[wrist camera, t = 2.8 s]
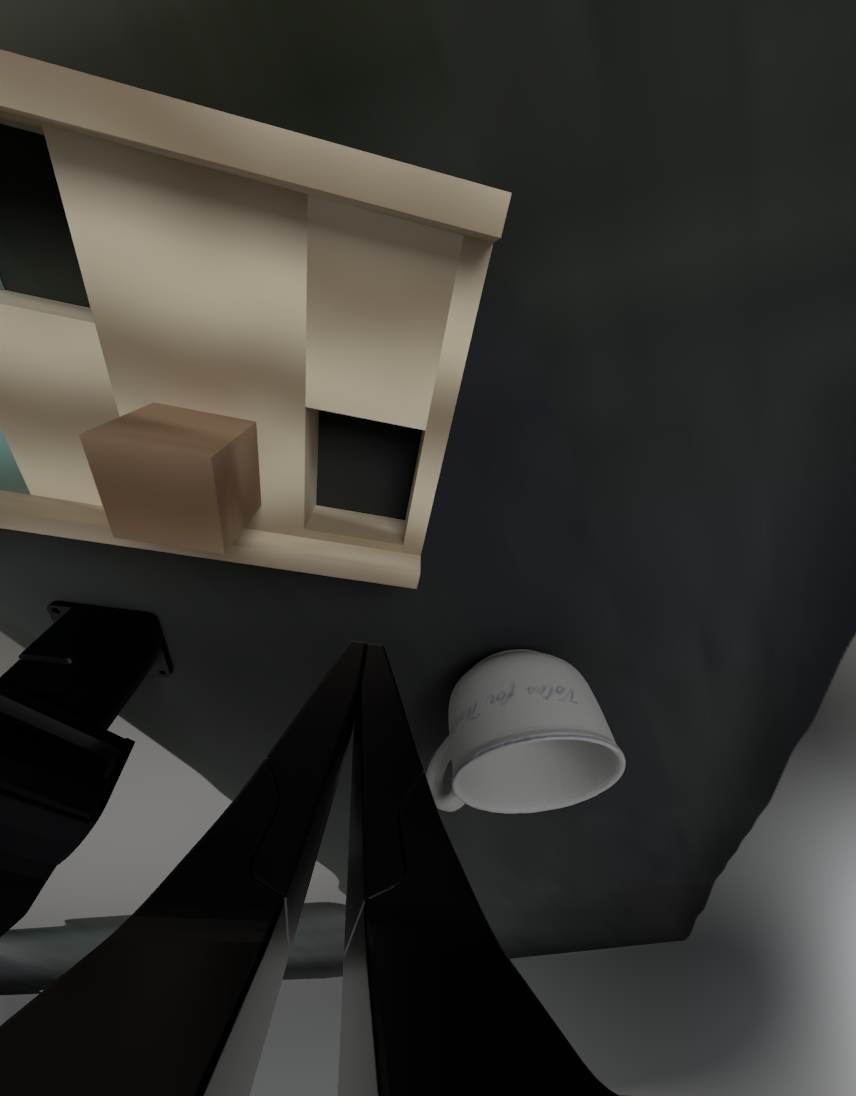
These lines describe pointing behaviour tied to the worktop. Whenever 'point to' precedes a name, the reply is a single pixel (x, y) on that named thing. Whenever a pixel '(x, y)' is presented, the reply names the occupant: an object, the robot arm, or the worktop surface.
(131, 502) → the walnut block
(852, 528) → the worktop surface
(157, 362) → the track
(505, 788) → the teacup
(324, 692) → the robot arm
